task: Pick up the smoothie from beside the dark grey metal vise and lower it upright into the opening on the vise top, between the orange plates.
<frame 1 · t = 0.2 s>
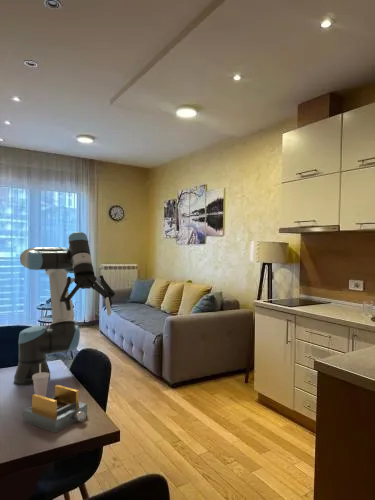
hand: (91, 316, 129), 35 cm above the table, tool tilted 35°, fingers open, 13 cm apart
vise: (55, 418, 124), on the table
smoothie: (40, 399, 140), on the table
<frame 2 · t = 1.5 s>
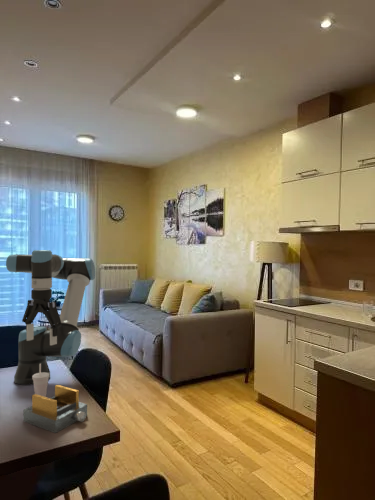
hand: (41, 342, 140), 23 cm above the table, tool pointing down, fingers open, 13 cm apart
nothing on the table moved.
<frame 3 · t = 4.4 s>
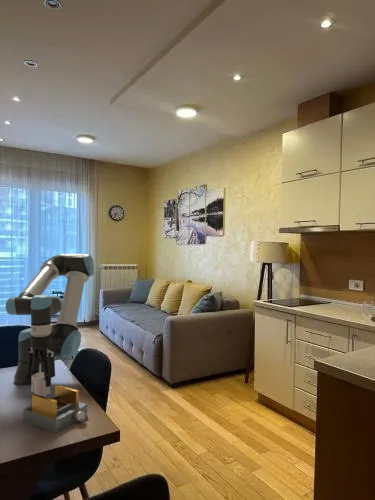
hand: (40, 392, 140), 3 cm above the table, tool pointing down, fingers closed on smoothie, 6 cm apart
smoothie: (40, 399, 140), on the table, touching gripper
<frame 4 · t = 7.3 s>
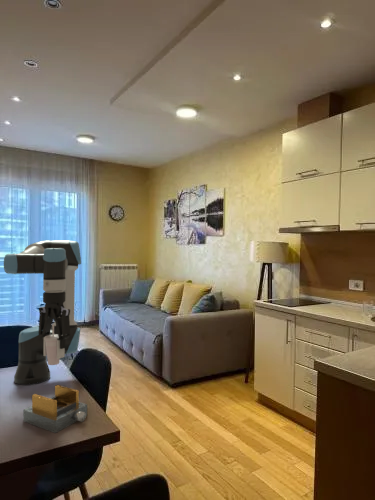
hand: (53, 356, 125), 22 cm above the table, tool pointing down, fingers closed on smoothie, 6 cm apart
smoothie: (53, 364, 125), point 19 cm above the table, touching gripper
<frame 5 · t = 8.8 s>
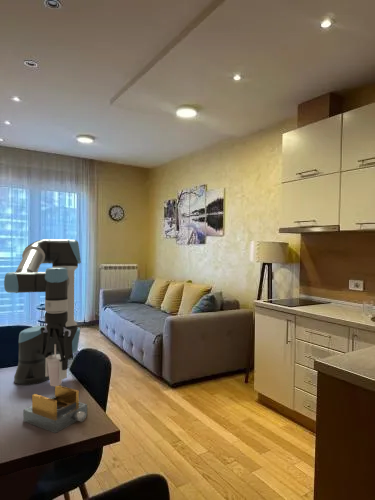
hand: (56, 376, 124), 15 cm above the table, tool pointing down, fingers closed on smoothie, 6 cm apart
smoothie: (55, 384, 124), point 12 cm above the table, touching gripper
when the fingers open (8 cm above the table, at t = 10.3 s): smoothie drops 1 cm, resting on vise.
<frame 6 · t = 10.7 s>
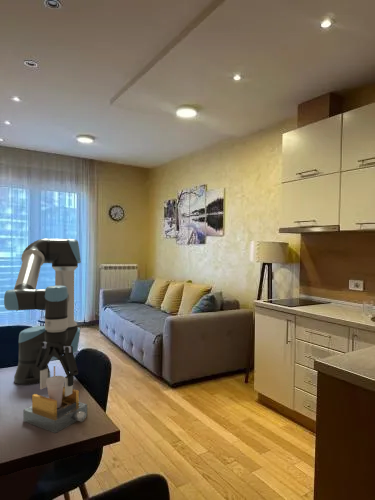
hand: (55, 391, 124), 10 cm above the table, tool pointing down, fingers open, 12 cm apart
smoothie: (55, 406, 124), point 4 cm above the table, touching vise
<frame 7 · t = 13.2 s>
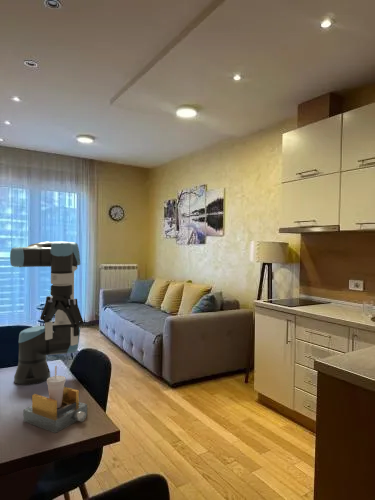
hand: (61, 341, 130), 25 cm above the table, tool pointing down, fingers open, 13 cm apart
nothing on the table moved.
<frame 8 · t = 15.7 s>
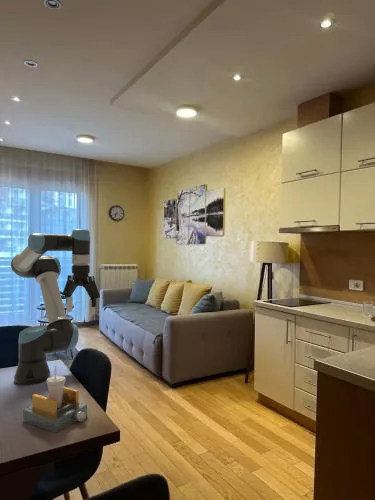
hand: (80, 313, 154), 32 cm above the table, tool pointing down, fingers open, 13 cm apart
nothing on the table moved.
at the end: smoothie 0.1 cm off-centre on the vise, point 4.0 cm above the vise's base; smoothie tilted 1°; the gripper is holding nothing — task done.
